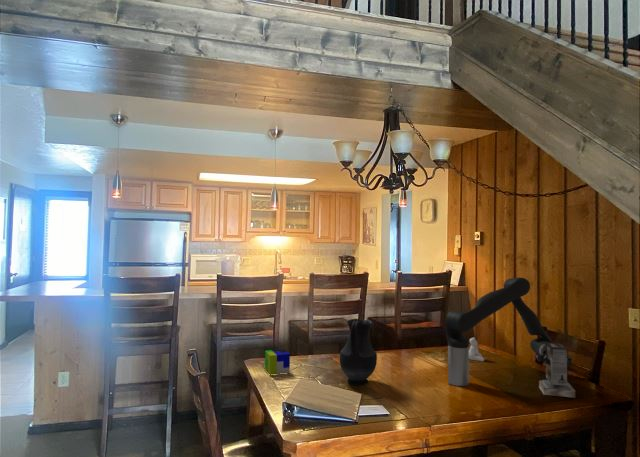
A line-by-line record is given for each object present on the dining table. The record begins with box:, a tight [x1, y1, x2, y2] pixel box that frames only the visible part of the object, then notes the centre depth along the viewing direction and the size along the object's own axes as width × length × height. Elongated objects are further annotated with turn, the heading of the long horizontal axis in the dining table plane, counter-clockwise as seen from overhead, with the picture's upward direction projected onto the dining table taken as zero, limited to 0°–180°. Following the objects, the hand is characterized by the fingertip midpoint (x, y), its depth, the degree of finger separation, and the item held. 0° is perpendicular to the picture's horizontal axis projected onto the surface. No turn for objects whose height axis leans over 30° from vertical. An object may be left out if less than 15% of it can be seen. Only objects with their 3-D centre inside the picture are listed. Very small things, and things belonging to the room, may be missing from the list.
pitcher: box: [339, 318, 378, 386], centre depth 200 cm, size 17×21×30 cm
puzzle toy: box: [264, 348, 291, 375], centre depth 216 cm, size 10×10×10 cm
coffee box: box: [545, 342, 568, 386], centre depth 189 cm, size 9×6×16 cm
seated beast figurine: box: [468, 337, 485, 363], centre depth 241 cm, size 10×9×12 cm
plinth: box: [538, 379, 576, 399], centre depth 189 cm, size 12×11×3 cm
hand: (558, 363), depth 186 cm, fingers closed on coffee box, 6 cm apart
